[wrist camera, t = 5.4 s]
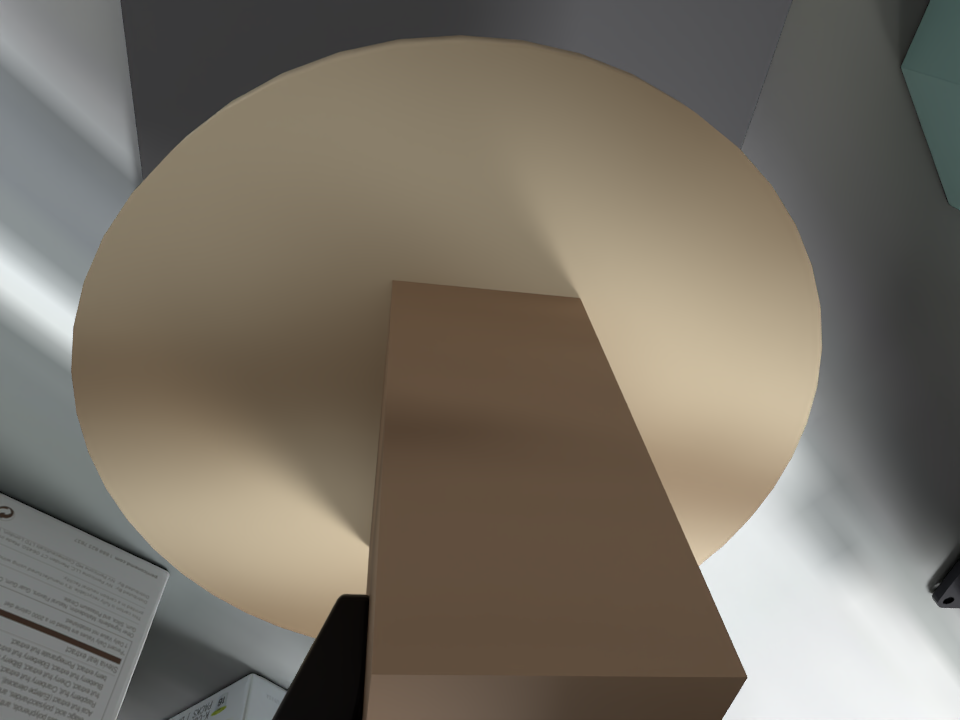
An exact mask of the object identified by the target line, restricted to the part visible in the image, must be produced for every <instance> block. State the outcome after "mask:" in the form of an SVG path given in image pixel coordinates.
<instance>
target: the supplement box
mask: <svg viewBox="0 0 960 720" xmlns="http://www.w3.org/2000/svg"><path fill="white" fill-rule="evenodd" d="M168 578H169V573H168V571H166V570H164V569H162V568H160V567H158V566H155V565H153V564H151V563H149V562H147V561H145V560H143V559H140V558H138V557H136V556H134V555H132V554H130V553H127V552H125V551H123V550H121V549H119V548H117V547H115V546H113V545H111V544H108V543H106V542H104V541H102V540H100V539H98V538H96V537H94V536H91V535H89V534H87V533H85V532H83V531H81V530H79V529H77V528H75V527H72V526H70V525H68V524H66V523H64V522H62V521H60V520H57V519H55V518H53V517H51V516H49V515H47V514H44V513H42V512H40V511H38V510H36V509H34V508H32V507H29V506H27V505H25V504H23V503H21V502H19V501H16V500H14V499H12V498H10V497H8V496H6V495H4V494H1V493H0V720H116V719H117V716H118V713H119V711H120V708H121V706H122V703H123V700H124V698H125V695H126V692H127V689H128V686H129V683H130V681H131V678H132V675H133V673H134V670H135V668H136V665H137V662H138V660H139V657H140V654H141V651H142V649H143V646H144V643H145V640H146V638H147V635H148V632H149V630H150V627H151V624H152V621H153V618H154V616H155V613H156V610H157V607H158V605H159V602H160V599H161V597H162V594H163V591H164V588H165V586H166V583H167V580H168Z"/></svg>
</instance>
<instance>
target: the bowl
mask: <svg viewBox="0 0 960 720" xmlns="http://www.w3.org/2000/svg"><path fill="white" fill-rule="evenodd" d="M901 69H902V72H903V75H904V78H905V81H906V83H907V86H908V89H909V92H910V95H911V98H912V100H913V103H914V106H915V109H916V112H917V115H918V117H919V120H920V123H921V126H922V129H923V132H924V134H925V137H926V140H927V143H928V146H929V149H930V151H931V154H932V157H933V160H934V163H935V166H936V168H937V171H938V174H939V177H940V180H941V183H942V185H943V188H944V191H945V194H946V197H947V200H948V202H949V205H951V206H953V207H955V208H956V209H958V210H960V0H930V2H929V5H928V7H927V9H926V11H925V14H924V16H923V18H922V20H921V23H920V25H919V27H918V29H917V32H916V34H915V36H914V39H913V41H912V43H911V45H910V48H909V50H908V52H907V54H906V57H905V59H904V61H903V63H902V66H901Z"/></svg>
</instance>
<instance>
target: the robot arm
mask: <svg viewBox="0 0 960 720" xmlns="http://www.w3.org/2000/svg"><path fill="white" fill-rule="evenodd" d="M932 598H933V600H934V601H935V602H936V604H937V605H938V606H939V607H942V608H960V559H959V560H958V562H957V563H956V564H955V566H954V567H953V568H952V570H951V571H950V572H949V573H948V575H947V576H946V577H945V579H944V580H943V581H942V583H941V584H940V585H939V587H938V588H937V589H936V590H935V592H934V593H933V595H932ZM368 615H369V596H368V595H366V594H343V595H341V596H340V597H339V598H338V599H337V600H336V602H335V604H334V606H333V608H332V609H331V611H330V613H329V615H328V617H327V619H326V621H325V622H324V624H323V626H322V628H321V630H320V632H319V633H318V635H317V637H316V639H315V641H314V643H313V644H312V646H311V648H310V650H309V652H308V654H307V656H306V657H305V659H304V661H303V663H302V665H301V667H300V668H299V670H298V672H297V674H296V676H295V678H294V680H293V681H292V683H291V685H290V687H289V689H288V691H287V692H286V694H285V696H284V698H283V700H282V702H281V703H280V705H279V707H278V709H277V711H276V713H275V715H274V716H273V718H272V720H362V712H363V701H364V685H365V668H366V650H367V633H368Z"/></svg>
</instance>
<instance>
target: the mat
mask: <svg viewBox="0 0 960 720" xmlns="http://www.w3.org/2000/svg"><path fill="white" fill-rule="evenodd" d="M792 1H793V0H121V7H122V15H123V23H124V31H125V39H126V47H127V55H128V63H129V71H130V79H131V87H132V95H133V103H134V111H135V119H136V127H137V135H138V143H139V151H140V159H141V167H142V175H143V181H144V180H145V179H146V178H147V177H148V175H149V174H150V173H151V172H152V171H153V170H154V169H155V168H156V167H157V166H158V165H159V164H160V163H161V161H162V160H163V159H164V158H165V157H166V156H167V155H168V154H169V153H170V152H171V151H172V150H173V149H174V148H175V147H176V146H177V145H178V144H179V143H180V142H181V141H182V140H183V139H184V138H185V137H186V136H187V135H189V134H190V133H191V132H192V131H194V130H195V129H196V128H198V127H199V126H200V125H201V124H203V123H204V122H205V121H207V120H208V119H209V118H210V117H212V116H213V115H214V114H216V113H217V112H218V111H220V110H221V109H222V108H223V107H225V106H226V105H227V104H229V103H230V102H231V101H233V100H235V99H237V98H238V97H240V96H242V95H244V94H246V93H247V92H249V91H251V90H253V89H255V88H256V87H258V86H260V85H262V84H264V83H265V82H267V81H269V80H271V79H273V78H274V77H276V76H278V75H280V74H282V73H284V72H287V71H289V70H292V69H295V68H298V67H300V66H303V65H306V64H308V63H311V62H314V61H316V60H319V59H322V58H324V57H327V56H330V55H333V54H335V53H338V52H342V51H346V50H351V49H356V48H361V47H365V46H370V45H375V44H379V43H384V42H389V41H393V40H398V39H411V38H426V37H441V36H457V35H464V36H477V37H490V38H502V39H515V40H524V41H528V42H532V43H537V44H541V45H546V46H550V47H554V48H559V49H563V50H567V51H572V52H576V53H580V54H583V55H585V56H588V57H590V58H593V59H595V60H598V61H600V62H603V63H606V64H608V65H611V66H613V67H616V68H618V69H621V70H623V71H626V72H628V73H631V74H633V75H635V76H636V77H638V78H640V79H642V80H643V81H645V82H647V83H649V84H650V85H652V86H654V87H655V88H657V89H659V90H661V91H662V92H664V93H666V94H667V95H669V96H671V97H673V98H674V99H676V100H678V101H679V102H681V103H682V104H684V105H685V106H687V107H688V108H689V109H691V110H692V111H694V112H695V113H697V114H698V115H699V116H700V117H702V118H703V119H704V120H705V121H707V122H708V123H709V124H710V125H711V126H713V127H714V128H715V129H716V130H718V131H719V132H720V133H721V134H722V135H724V136H725V137H726V138H727V139H729V140H730V141H731V142H732V143H733V144H735V145H736V146H737V147H738V148H739V149H740V150H741V148H742V145H743V142H744V139H745V136H746V133H747V130H748V128H749V125H750V122H751V119H752V116H753V113H754V110H755V107H756V104H757V102H758V99H759V96H760V93H761V90H762V87H763V84H764V81H765V79H766V76H767V73H768V70H769V67H770V64H771V61H772V58H773V55H774V53H775V50H776V47H777V44H778V41H779V38H780V35H781V32H782V29H783V27H784V24H785V21H786V18H787V15H788V12H789V9H790V6H791V3H792Z"/></svg>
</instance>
